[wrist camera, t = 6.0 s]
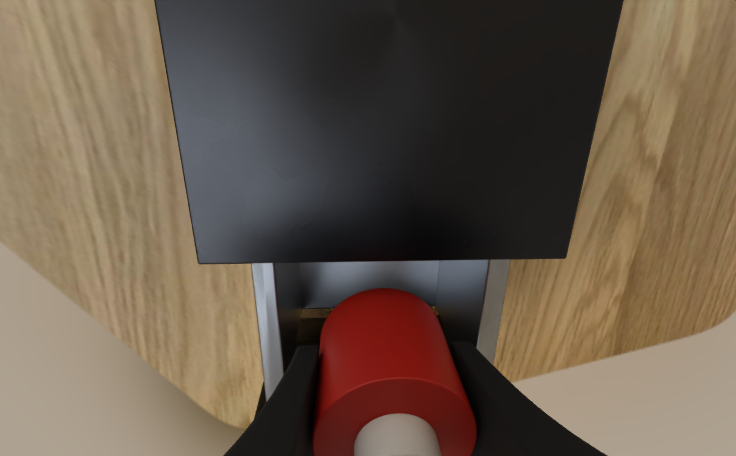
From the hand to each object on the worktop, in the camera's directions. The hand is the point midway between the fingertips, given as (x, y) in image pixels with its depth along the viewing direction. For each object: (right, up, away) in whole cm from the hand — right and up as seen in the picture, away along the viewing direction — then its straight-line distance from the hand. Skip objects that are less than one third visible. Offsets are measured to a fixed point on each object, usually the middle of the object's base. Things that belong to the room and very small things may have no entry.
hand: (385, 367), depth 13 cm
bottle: (0, +1, +1) cm, 1 cm away
